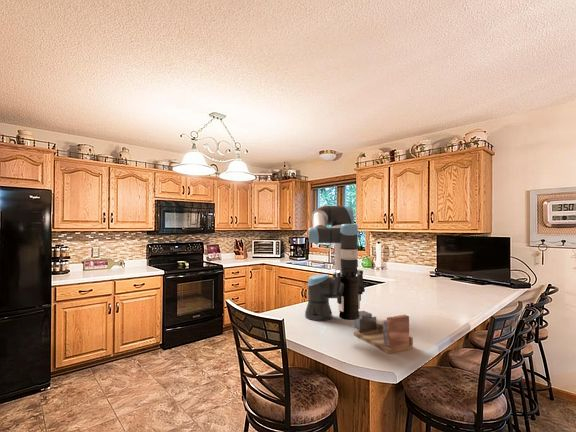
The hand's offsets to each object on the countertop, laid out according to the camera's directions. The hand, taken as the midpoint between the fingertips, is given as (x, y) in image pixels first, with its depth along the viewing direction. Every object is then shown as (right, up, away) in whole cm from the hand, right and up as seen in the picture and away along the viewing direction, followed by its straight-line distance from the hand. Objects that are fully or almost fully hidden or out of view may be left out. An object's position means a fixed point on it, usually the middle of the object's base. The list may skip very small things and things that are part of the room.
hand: (349, 309), depth 138 cm
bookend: (+9, -13, +11) cm, 19 cm away
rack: (+14, -14, 0) cm, 20 cm away
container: (0, -4, 0) cm, 4 cm away
